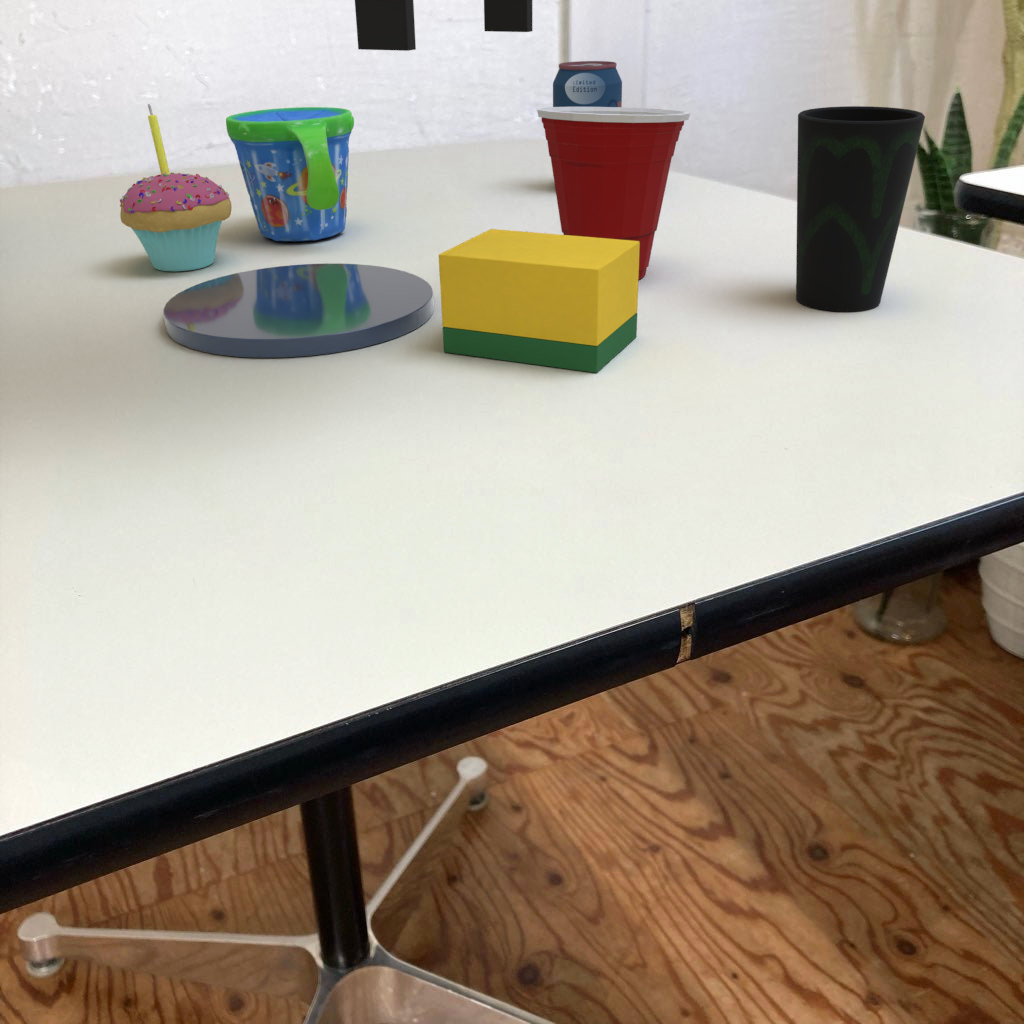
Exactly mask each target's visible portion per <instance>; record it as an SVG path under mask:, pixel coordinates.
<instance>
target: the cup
mask: <svg viewBox="0 0 1024 1024" xmlns="http://www.w3.org/2000/svg"><path fill="white" fill-rule="evenodd" d="M925 118H926V116H925V115H924V113H923V112H921V111H918V110H915V109H914V110H913V109H907V108H901V107H889V106H871V105H870V106H867V105H866V106H863V105H857V106H856V105H855V106H854V105H852V106H851V105H849V106H845V105H844V106H825V107H815V108H808V109H805V110H802V111H800V112H799V113H798V114H797V163H796V164H797V170H796V171H797V173H796V174H797V175H796V177H797V178H796V259H795V261H796V265H795V266H796V267H795V268H796V269H795V270H796V271H795V274H796V275H795V283H796V284H795V300H796V301H797V302H798V303H799V304H801V305H803V306H805V307H808V308H811V309H815V310H822V311H826V312H827V311H828V312H841V313H844V312H845V313H849V312H852V313H853V312H863V311H869V310H871V309H875V308H876V307H879V306H880V304H881V301H882V298H883V293H884V289H885V284H886V281H887V278H888V277H887V276H888V272H889V268H890V263H891V260H892V256H893V252H894V248H895V243H896V239H897V236H898V235H897V234H898V230H899V226H900V222H901V218H902V214H903V211H904V207H905V201H906V197H907V194H908V189H909V186H910V182H911V178H912V174H913V173H912V172H913V170H914V169H913V168H914V164H915V160H916V157H917V153H918V148H919V145H920V140H921V136H922V131H923V128H924V124H925Z"/></svg>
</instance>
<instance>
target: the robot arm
mask: <svg viewBox="0 0 1024 1024" xmlns="http://www.w3.org/2000/svg"><path fill="white" fill-rule="evenodd" d="M354 9H355V20H356V21H355V22H356V23H355V24H356V36H357V37H356V38H357V49H358V50H365V51H367V50H369V51H401V52H402V51H403V52H407V51H408V52H409V51H416V50H417V46H416V28H415V27H416V24H415V6H414V0H354ZM483 15H484V16H483V19H484V20H483V21H484V24H483V25H484V28H483V29H484V32H494V33H495V32H501V33H502V32H504V33H528V32H529V33H530V32H533V0H483Z"/></svg>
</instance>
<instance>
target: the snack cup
mask: <svg viewBox="0 0 1024 1024" xmlns="http://www.w3.org/2000/svg"><path fill="white" fill-rule="evenodd" d="M354 126H355V119H354V116H353V114H352V111H351V110H350V109H347V108H341V107H330V106H328V107H327V106H301V107H298V106H297V107H283V108H282V107H281V108H268V109H267V108H266V109H260V110H252V111H250V110H249V111H245V112H239V113H236V114H231V115H229V116H226V118H225V127H226V132H227V135H228V137H229V139H230V141H231V142H232V144H233V145H234V148H235V151H236V155H237V160H238V162H239V167H240V170H241V173H242V177H243V180H244V184H245V187H246V190H247V193H248V196H249V201H250V204H251V208H252V212H253V214H254V217H255V220H256V225H257V227H258V229H259V232H260V234H261V235H262V237H264V238H267V239H270V240H273V241H275V242H307V241H308V242H310V241H318V240H322V239H327V238H331V237H334V236H336V235H338V234H339V233H343V232H345V229H346V221H347V215H348V214H347V212H348V211H347V210H348V209H347V198H348V184H349V153H350V147H349V145H350V144H349V143H350V137H351V134H352V131H353V129H354Z"/></svg>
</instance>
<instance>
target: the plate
mask: <svg viewBox="0 0 1024 1024" xmlns="http://www.w3.org/2000/svg"><path fill="white" fill-rule="evenodd" d="M434 303H435V299H434V290H433V287H432V286H431V284H430V283H429V282H428V281H426V280H425V279H424V278H423V277H420V276H418V275H416V274H414V273H411V272H408V271H404V270H400V269H398V268H397V269H396V268H392V267H385V266H380V265H372V264H359V263H357V264H356V263H305V264H303V263H302V264H290V265H281V266H272V267H264V268H258V269H252V270H246V271H241V272H237V273H236V272H235V273H232V274H228V275H223V276H219V277H216V278H213V279H209V280H206V281H203V282H201V283H197V284H195V285H193V286H190V287H187V288H185V289H183V290H182V291H180V292H177V294H175V295H174V296H173V297H170V299H169V300H168V301H167V302H166V303H165V305H164V307H163V309H162V316H163V319H164V320H163V321H164V326H165V332H166V333H167V335H168V336H169V338H171V340H173V341H174V342H175V343H178V344H179V345H181V346H183V347H186V348H189V349H191V350H195V351H198V352H203V353H206V354H212V355H217V356H227V357H235V358H251V359H252V358H253V359H279V358H280V359H283V358H300V357H311V356H312V357H313V356H319V355H320V356H321V355H329V354H335V353H341V352H347V351H353V350H358V349H362V348H366V347H371V346H374V345H377V344H381V343H385V342H387V341H388V342H389V341H391V340H394V339H396V338H400V337H402V336H404V335H407V334H408V333H410V332H412V331H414V330H417V329H418V328H419V327H421V326H423V325H424V324H425V323H426V322H428V320H430V318H431V317H432V315H433V314H434V310H435V304H434Z"/></svg>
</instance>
